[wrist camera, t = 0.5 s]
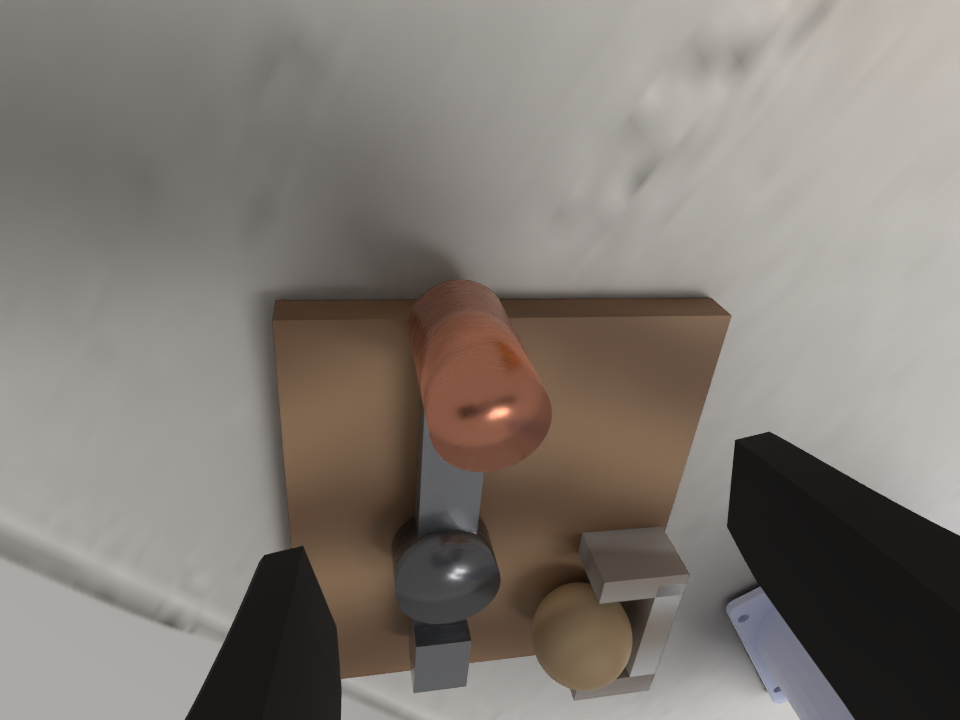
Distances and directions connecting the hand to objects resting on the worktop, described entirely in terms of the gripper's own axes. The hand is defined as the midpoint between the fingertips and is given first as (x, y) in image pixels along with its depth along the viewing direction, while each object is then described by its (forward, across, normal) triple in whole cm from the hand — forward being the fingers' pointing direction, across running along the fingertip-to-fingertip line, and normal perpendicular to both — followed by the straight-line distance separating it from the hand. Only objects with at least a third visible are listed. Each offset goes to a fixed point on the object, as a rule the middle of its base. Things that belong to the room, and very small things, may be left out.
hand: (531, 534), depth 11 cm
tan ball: (+8, -2, +12) cm, 15 cm away
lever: (+8, +1, +6) cm, 10 cm away
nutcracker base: (+9, 0, +8) cm, 12 cm away
